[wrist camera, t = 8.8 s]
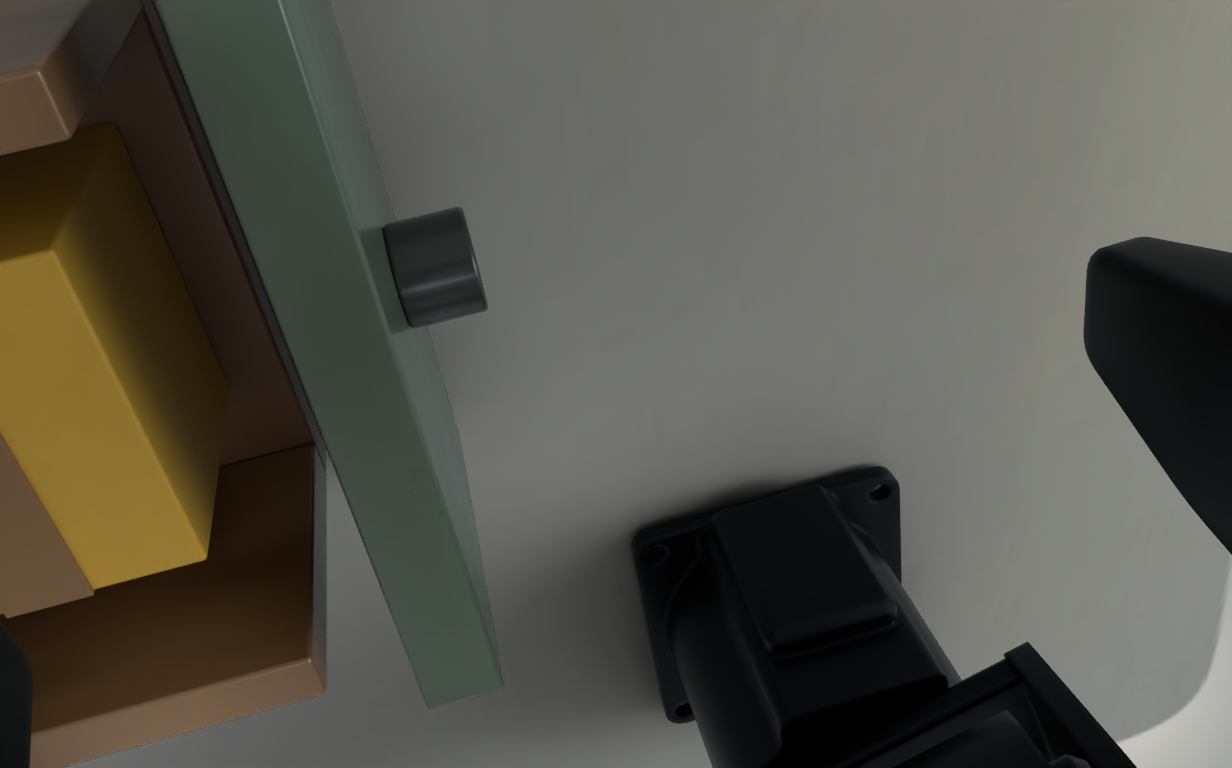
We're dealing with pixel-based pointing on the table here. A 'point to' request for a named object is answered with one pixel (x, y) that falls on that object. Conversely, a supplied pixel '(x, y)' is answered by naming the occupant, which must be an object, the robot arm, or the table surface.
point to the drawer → (262, 368)
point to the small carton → (97, 381)
